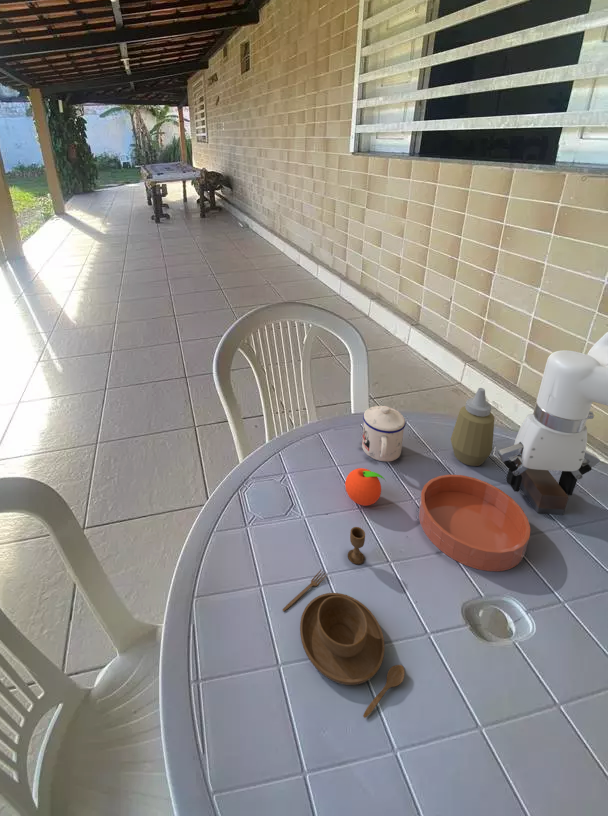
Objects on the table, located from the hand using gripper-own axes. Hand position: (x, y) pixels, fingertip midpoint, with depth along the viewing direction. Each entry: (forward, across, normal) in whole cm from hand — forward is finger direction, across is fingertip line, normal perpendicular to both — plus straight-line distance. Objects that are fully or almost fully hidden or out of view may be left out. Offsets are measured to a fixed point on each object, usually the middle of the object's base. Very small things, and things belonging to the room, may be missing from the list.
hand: (538, 487), depth 84 cm
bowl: (+2, +16, +9) cm, 18 cm away
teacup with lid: (+2, +28, -10) cm, 30 cm away
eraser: (+2, 0, 0) cm, 2 cm away
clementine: (+2, +34, +4) cm, 34 cm away
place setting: (+2, +39, +28) cm, 48 cm away
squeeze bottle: (+2, +9, -10) cm, 14 cm away
